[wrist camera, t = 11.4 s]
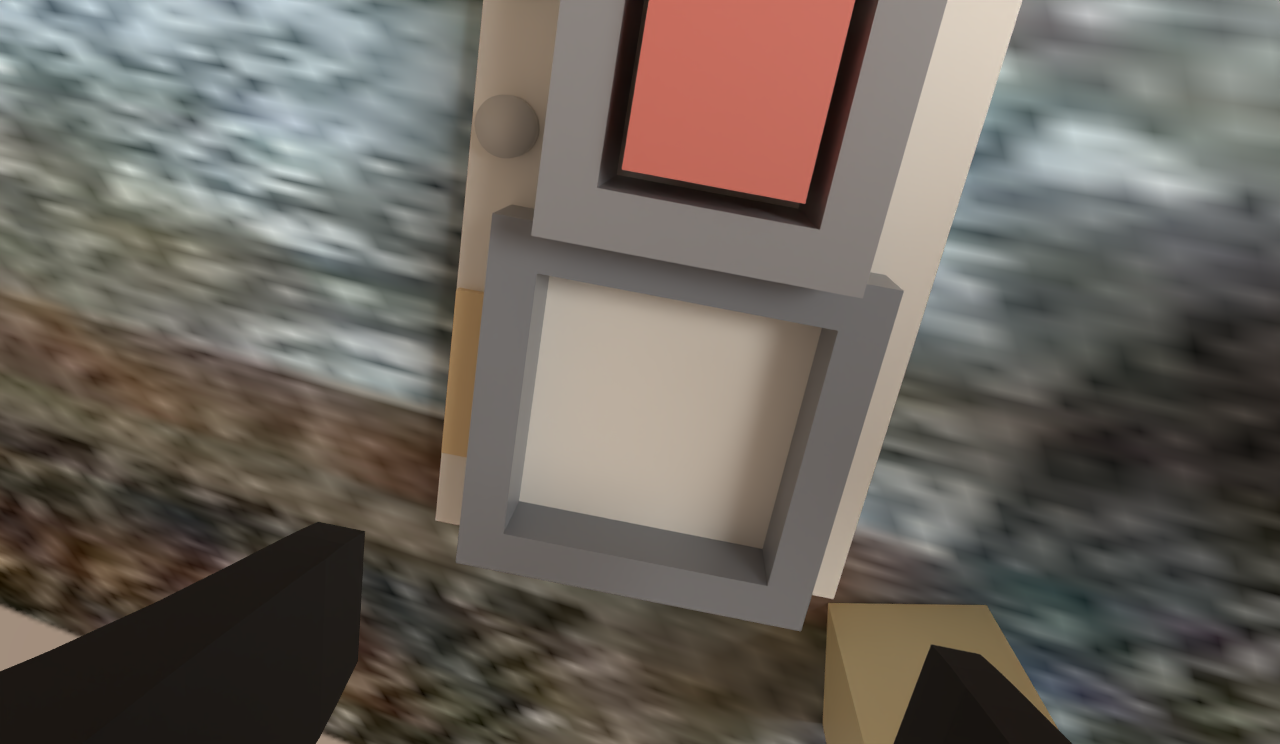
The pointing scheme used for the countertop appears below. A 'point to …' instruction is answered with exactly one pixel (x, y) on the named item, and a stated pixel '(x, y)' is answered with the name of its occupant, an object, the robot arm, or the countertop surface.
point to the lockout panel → (693, 312)
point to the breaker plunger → (736, 92)
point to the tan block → (900, 662)
